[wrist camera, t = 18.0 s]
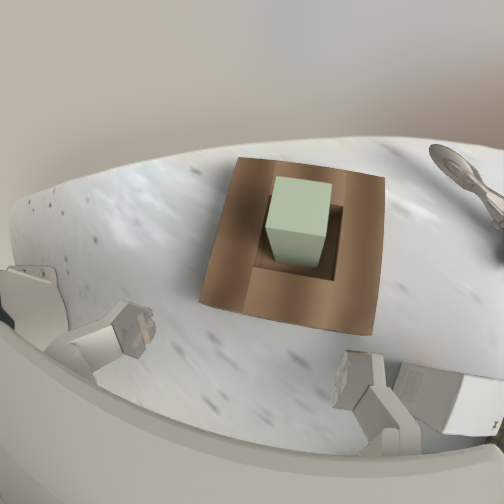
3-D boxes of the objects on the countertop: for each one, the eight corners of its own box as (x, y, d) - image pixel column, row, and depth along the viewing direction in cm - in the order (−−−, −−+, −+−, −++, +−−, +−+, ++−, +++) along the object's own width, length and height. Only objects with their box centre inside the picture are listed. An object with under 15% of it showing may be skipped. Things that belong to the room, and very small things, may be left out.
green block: (275, 261, 27) (265, 227, 18) (283, 223, 28) (276, 176, 19) (316, 269, 26) (325, 236, 17) (322, 230, 27) (332, 183, 18)
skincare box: (445, 370, 21) (517, 381, 10) (432, 408, 20) (497, 438, 9) (400, 360, 23) (464, 372, 12) (386, 400, 22) (439, 436, 11)
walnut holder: (212, 307, 28) (198, 302, 24) (245, 177, 31) (238, 157, 28) (360, 335, 24) (371, 335, 21) (375, 196, 28) (384, 177, 24)
